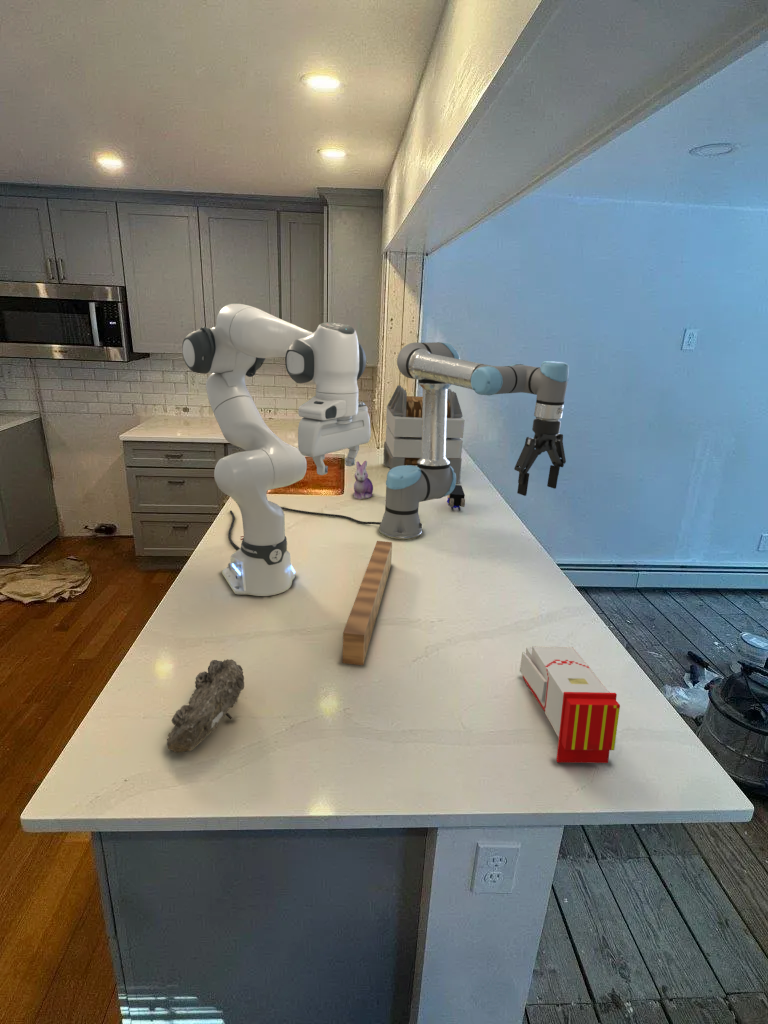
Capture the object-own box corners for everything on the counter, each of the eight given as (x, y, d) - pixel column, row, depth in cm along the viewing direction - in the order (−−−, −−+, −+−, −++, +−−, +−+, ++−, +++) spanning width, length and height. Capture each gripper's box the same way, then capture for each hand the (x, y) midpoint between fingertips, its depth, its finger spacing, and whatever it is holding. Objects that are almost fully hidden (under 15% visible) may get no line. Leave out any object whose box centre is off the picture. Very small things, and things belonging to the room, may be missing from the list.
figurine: (357, 501, 231) (358, 465, 226) (347, 493, 240) (348, 459, 235) (378, 498, 235) (379, 463, 230) (367, 491, 244) (368, 457, 239)
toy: (568, 628, 125) (630, 701, 96) (562, 684, 128) (620, 770, 99) (514, 627, 125) (559, 699, 96) (509, 683, 128) (551, 770, 98)
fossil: (192, 660, 117) (244, 628, 112) (224, 691, 120) (276, 661, 115) (142, 746, 98) (202, 712, 93) (182, 779, 101) (242, 748, 96)
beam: (376, 563, 176) (376, 540, 173) (391, 565, 175) (392, 542, 173) (342, 663, 126) (342, 632, 124) (363, 665, 126) (364, 635, 123)
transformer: (382, 463, 289) (386, 382, 275) (445, 464, 293) (451, 384, 279) (390, 482, 257) (394, 392, 243) (460, 483, 261) (468, 394, 247)
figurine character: (465, 515, 224) (460, 499, 237) (467, 498, 221) (462, 483, 234) (448, 515, 224) (444, 499, 237) (450, 498, 220) (445, 482, 234)
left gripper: (355, 398, 127) (354, 458, 132) (292, 408, 111) (293, 476, 116) (378, 402, 124) (376, 463, 129) (316, 412, 108) (316, 482, 113)
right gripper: (529, 424, 149) (518, 501, 156) (585, 417, 163) (573, 487, 170) (507, 419, 154) (498, 493, 161) (563, 413, 169) (553, 481, 176)
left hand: (336, 469), depth 122 cm, fingers open, 8 cm apart
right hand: (537, 490), depth 166 cm, fingers open, 13 cm apart
